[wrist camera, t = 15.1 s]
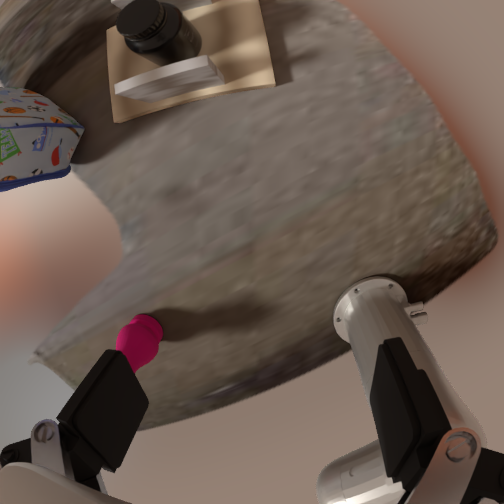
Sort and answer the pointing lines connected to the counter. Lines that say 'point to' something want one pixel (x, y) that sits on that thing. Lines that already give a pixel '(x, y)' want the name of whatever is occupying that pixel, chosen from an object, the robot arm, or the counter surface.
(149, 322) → the pepper mill
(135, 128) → the counter surface
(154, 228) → the counter surface
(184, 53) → the supplement bottle
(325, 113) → the counter surface
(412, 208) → the counter surface
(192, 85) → the wooden stand
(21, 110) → the lunch box
